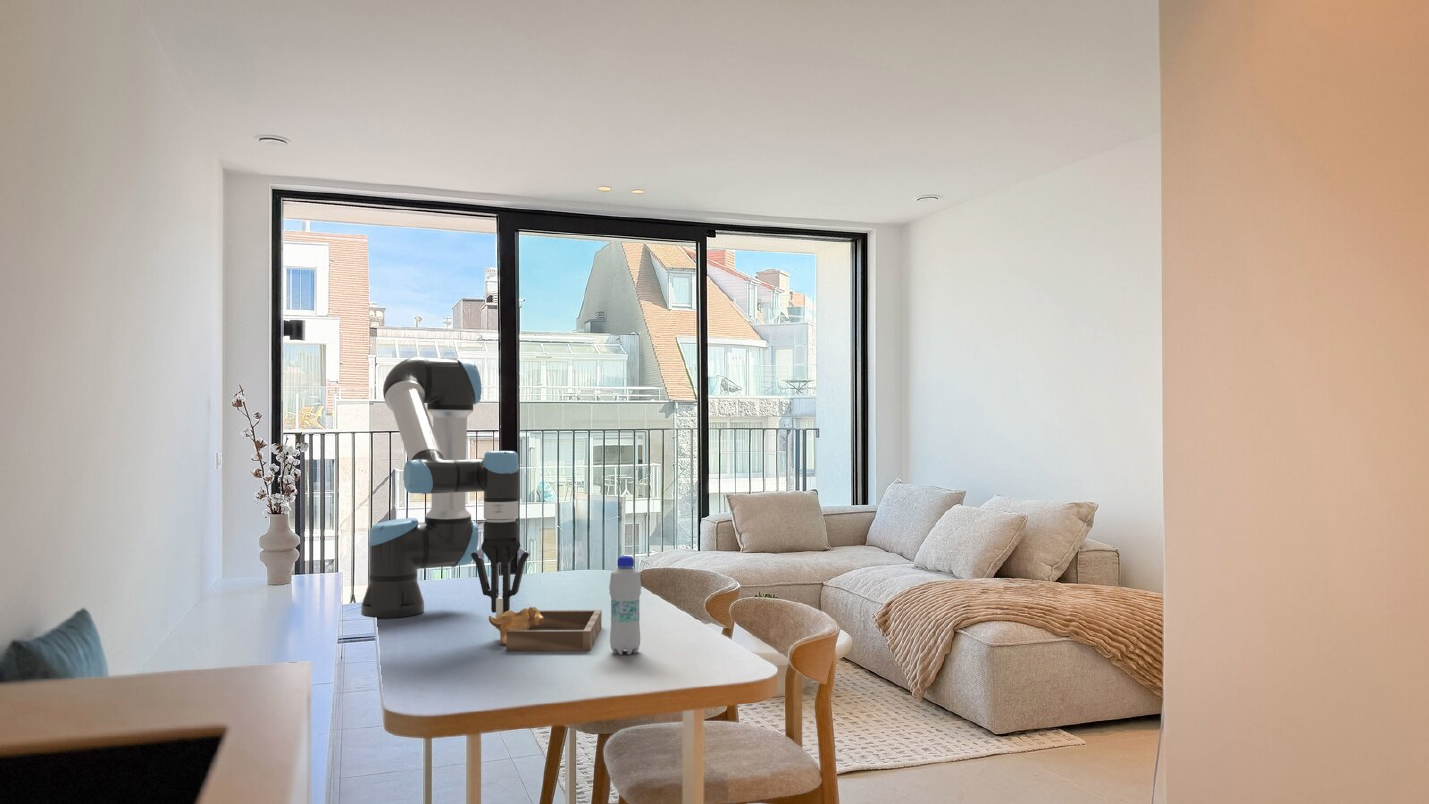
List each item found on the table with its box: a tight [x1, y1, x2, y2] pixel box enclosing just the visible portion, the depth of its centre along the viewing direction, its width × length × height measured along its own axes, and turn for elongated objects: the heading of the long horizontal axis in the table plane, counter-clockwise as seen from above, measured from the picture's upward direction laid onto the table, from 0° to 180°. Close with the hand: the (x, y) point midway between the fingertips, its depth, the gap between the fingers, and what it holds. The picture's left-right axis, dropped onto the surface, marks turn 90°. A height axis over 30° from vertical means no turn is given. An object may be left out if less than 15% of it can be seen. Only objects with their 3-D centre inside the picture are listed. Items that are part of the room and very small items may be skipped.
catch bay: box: [505, 609, 603, 652], centre depth 217 cm, size 24×18×4 cm
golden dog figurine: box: [488, 606, 544, 647], centre depth 213 cm, size 12×10×8 cm
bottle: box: [608, 555, 642, 656], centre depth 204 cm, size 7×7×20 cm
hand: (500, 627), depth 217 cm, fingers closed
